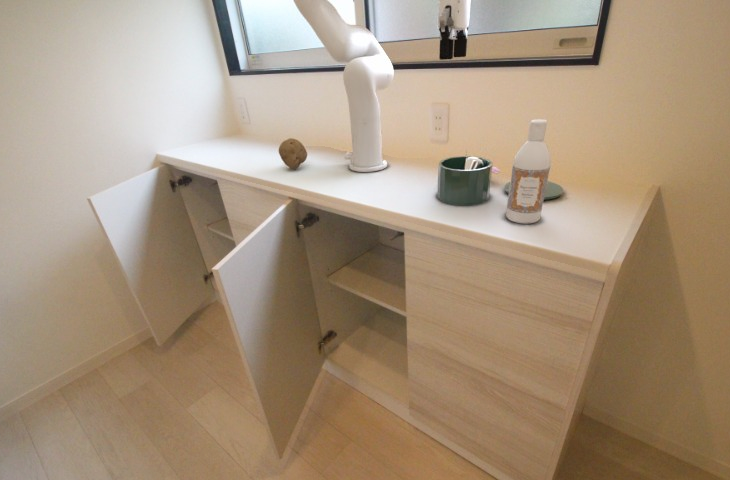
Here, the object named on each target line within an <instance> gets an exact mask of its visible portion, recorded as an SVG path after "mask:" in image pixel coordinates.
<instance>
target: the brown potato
mask: <svg viewBox="0 0 730 480" xmlns="http://www.w3.org/2000/svg"><path fill="white" fill-rule="evenodd" d="M307 151H308V150H307V149H306V147H305V146H304V145H303V143H302V141H300V140H298V139H296V138H290V137H289V138H287V139H285V140H283V141H282V142H281V144H280V145H279V147H278V154H279V157H280V159H281V160H282V162H283V163H284V165H285V166H286V167H288V169H290V170H293V171H294V170H297V169H298V168H299V167H300V166H301V165H302V164H303V163H305V161H307V158H308V152H307Z"/></svg>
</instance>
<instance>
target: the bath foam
mask: <svg viewBox="0 0 730 480" xmlns="http://www.w3.org/2000/svg"><path fill="white" fill-rule="evenodd" d="M547 125H548V120H546V119H542V118H541V119H531V120H530V122H529V128H528V135H527V140H526V141H525V142H524V144H523V145H522V146H521V147H520V148H519V150H518V151H517V153H516V155H515V156H514V159H513V163H512V167H511V176H510V181H509V182H510V189H509V194H508V197H507V203H506V211H505V217H506V218H507V220H509V221H511V222H513V223H517V224H525V225H526V224H527V225H529V224H535V223H537V222H538V221H540V219H541V216H542V215H541V214H542V211H543V205H544V195H545V190H546V185H547V181H548V180H549V175H550V169H551V162H552V159H551V154H550V150H549V149H548V146H547V144H546V142H545V136H546V131H547Z"/></svg>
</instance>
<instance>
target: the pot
mask: <svg viewBox="0 0 730 480" xmlns="http://www.w3.org/2000/svg"><path fill="white" fill-rule="evenodd" d="M468 157H475V155H473V156H472V155H467V158H468ZM476 157H477V158H479V159H480V160H482V161H483V167H482V168H480V169H474V170H463V167H464V164H465V160H466V155H459V156H451V157H446V158H444V159H441V160H440V161H438V165H437V169H438V172H437V194H436V195H437V199H438V200H439V201H440V202H441V203H445V204H448V205H451V206H459V207H460V206H463V207H464V206H465V207H466V206H467V207H468V206H469V207H470V206H476V205H481V204H483V203H485V202H487V201H488V199H489V197H490V190H491V184H492V183H491V181H492V174H493V172H492V167H493V161H492V160H490V159H488V158H486V157H482V156H481V157H480V156H476Z"/></svg>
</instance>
